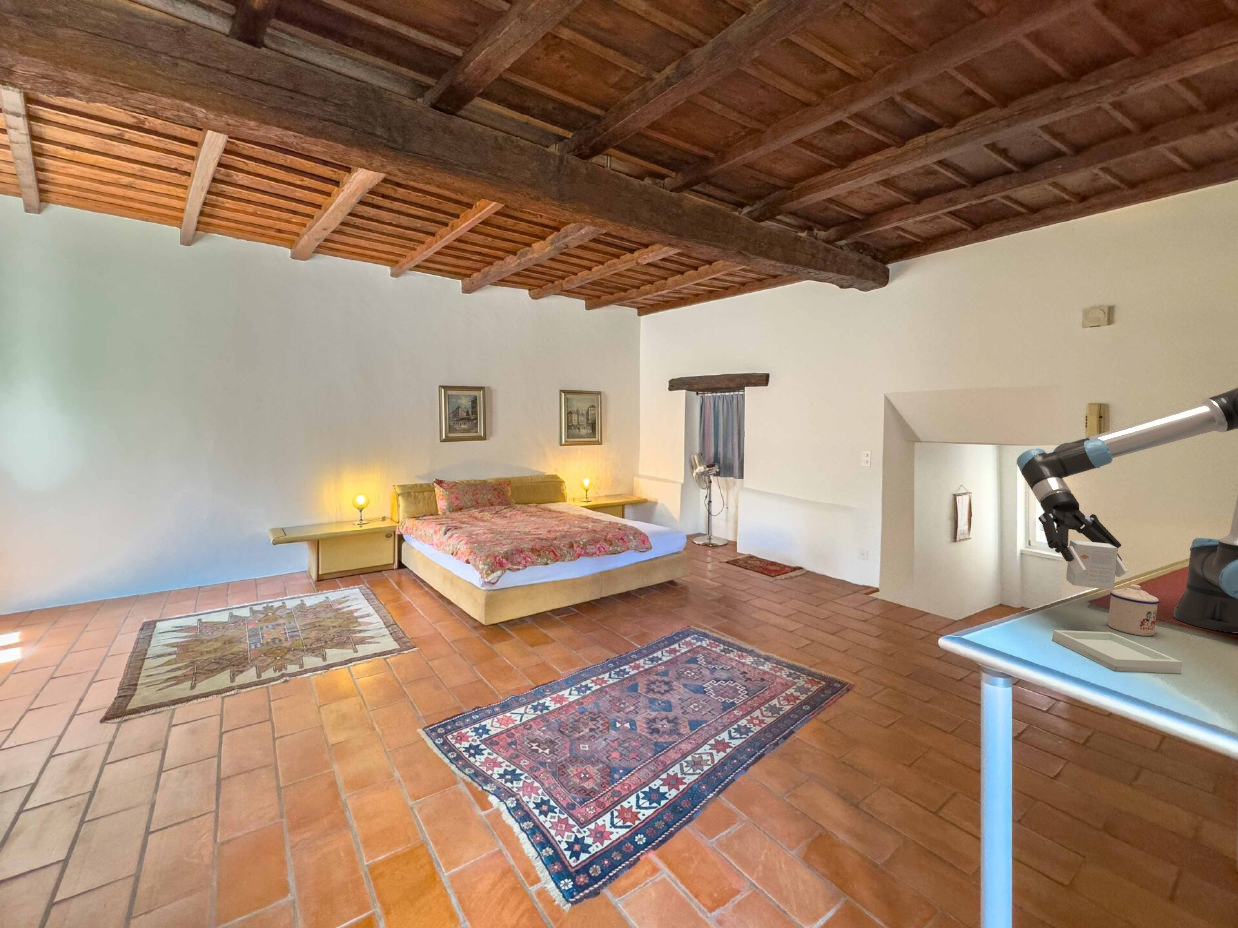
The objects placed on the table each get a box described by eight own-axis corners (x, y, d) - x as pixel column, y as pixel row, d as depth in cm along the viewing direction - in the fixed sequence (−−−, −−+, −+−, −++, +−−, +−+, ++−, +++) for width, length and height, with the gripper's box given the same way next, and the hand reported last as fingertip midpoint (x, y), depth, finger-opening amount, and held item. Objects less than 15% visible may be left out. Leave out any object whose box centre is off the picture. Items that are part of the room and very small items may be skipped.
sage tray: (1110, 642, 129) (1111, 632, 129) (1180, 673, 113) (1182, 661, 113) (1052, 640, 129) (1053, 629, 128) (1114, 670, 113) (1115, 659, 112)
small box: (1105, 584, 135) (1110, 543, 134) (1114, 590, 130) (1119, 547, 129) (1065, 579, 139) (1069, 539, 138) (1072, 585, 134) (1076, 543, 133)
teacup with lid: (1148, 639, 132) (1154, 592, 131) (1100, 626, 140) (1105, 582, 139) (1164, 631, 138) (1169, 586, 138) (1117, 619, 146) (1122, 577, 145)
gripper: (1086, 508, 148) (1135, 582, 134) (1006, 505, 148) (1046, 578, 134) (1106, 492, 143) (1159, 567, 128) (1023, 488, 143) (1066, 563, 128)
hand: (1101, 573), depth 131 cm, fingers closed on small box, 9 cm apart
